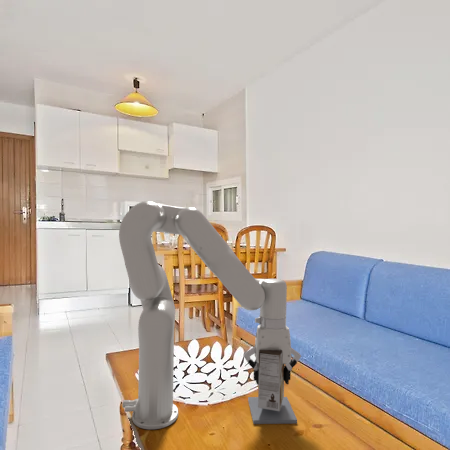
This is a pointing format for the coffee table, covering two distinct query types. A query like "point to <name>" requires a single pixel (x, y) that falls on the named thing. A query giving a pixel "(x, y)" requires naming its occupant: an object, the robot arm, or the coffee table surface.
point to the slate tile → (272, 413)
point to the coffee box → (271, 379)
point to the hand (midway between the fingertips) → (271, 382)
